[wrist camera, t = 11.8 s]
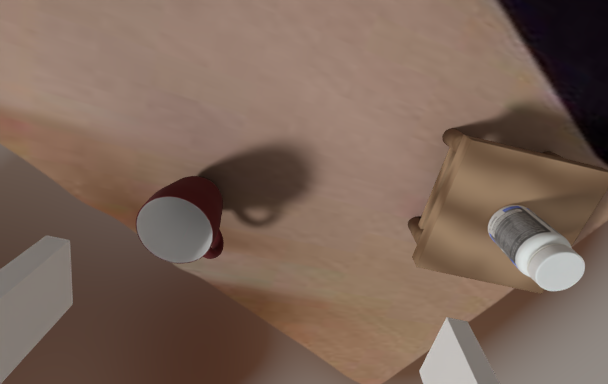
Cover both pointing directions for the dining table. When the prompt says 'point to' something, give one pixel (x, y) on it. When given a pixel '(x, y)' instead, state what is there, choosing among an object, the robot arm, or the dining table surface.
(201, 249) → the mug
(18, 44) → the dining table surface
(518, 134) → the dining table surface
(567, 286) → the pill bottle
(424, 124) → the dining table surface
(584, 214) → the small wooden bench
